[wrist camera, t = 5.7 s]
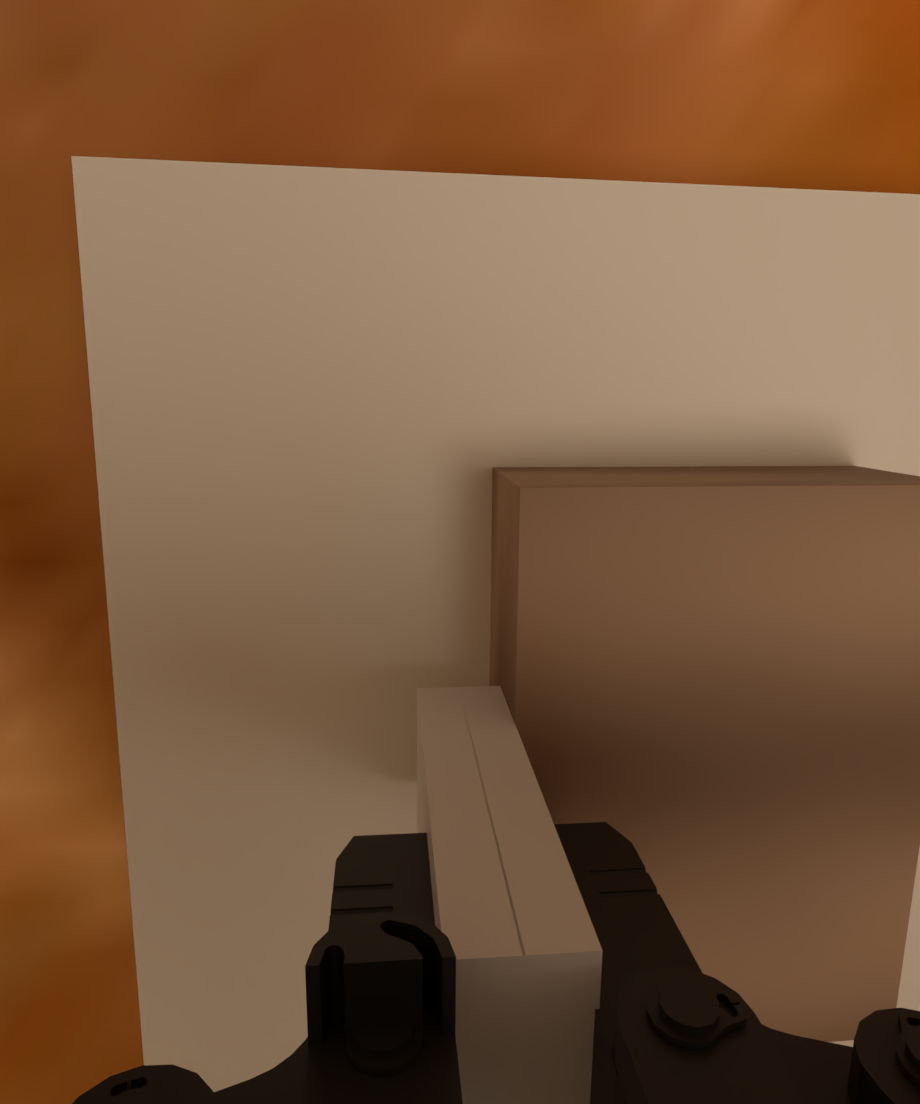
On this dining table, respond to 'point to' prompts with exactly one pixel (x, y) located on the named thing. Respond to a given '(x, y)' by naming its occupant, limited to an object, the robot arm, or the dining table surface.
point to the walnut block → (730, 706)
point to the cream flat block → (404, 486)
